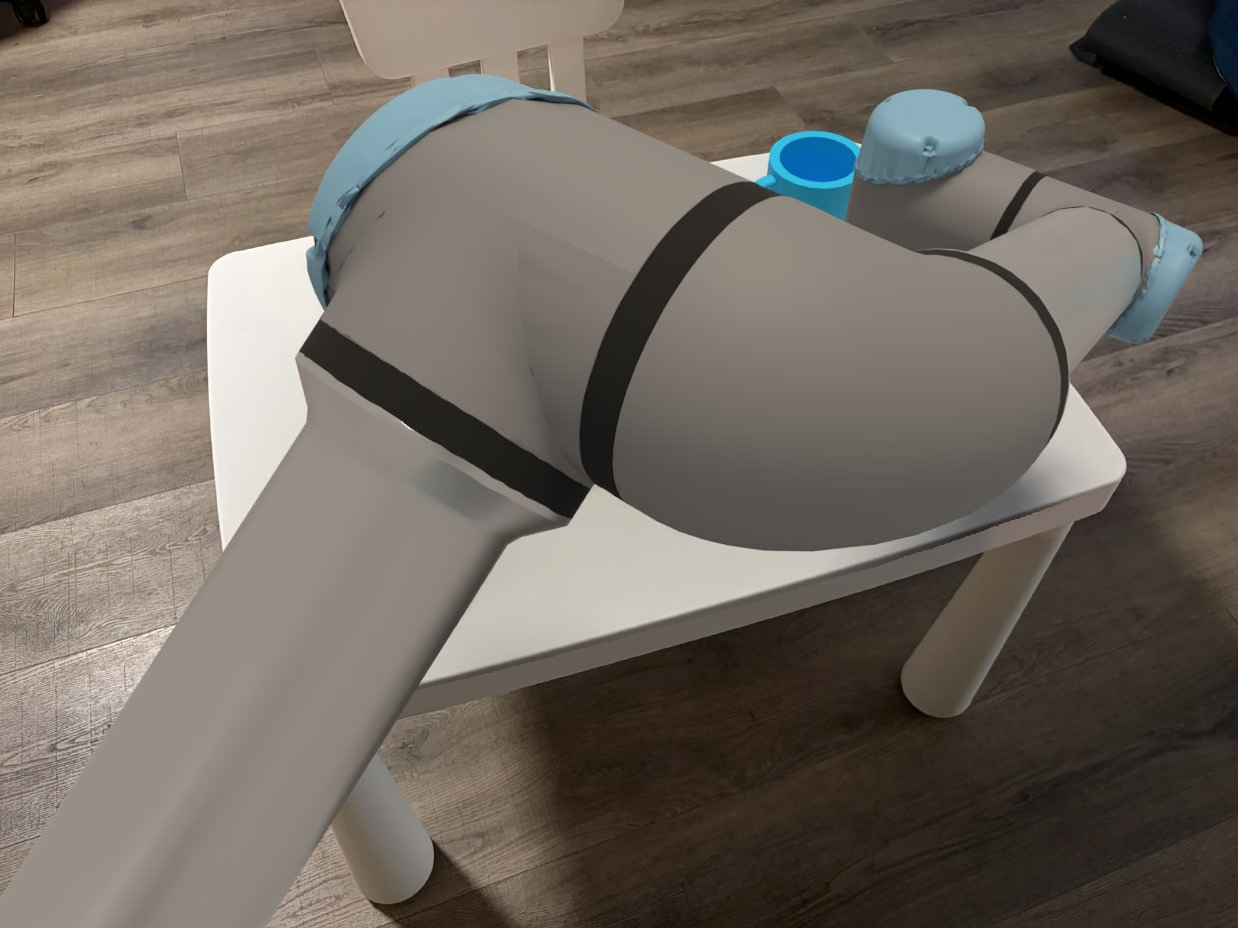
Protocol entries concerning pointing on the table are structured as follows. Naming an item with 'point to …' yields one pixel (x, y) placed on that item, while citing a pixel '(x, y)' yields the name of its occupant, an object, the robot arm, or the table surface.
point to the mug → (813, 170)
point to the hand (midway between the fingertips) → (485, 268)
